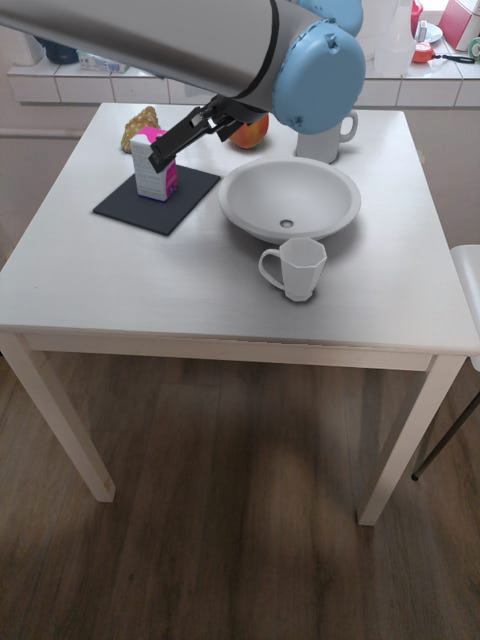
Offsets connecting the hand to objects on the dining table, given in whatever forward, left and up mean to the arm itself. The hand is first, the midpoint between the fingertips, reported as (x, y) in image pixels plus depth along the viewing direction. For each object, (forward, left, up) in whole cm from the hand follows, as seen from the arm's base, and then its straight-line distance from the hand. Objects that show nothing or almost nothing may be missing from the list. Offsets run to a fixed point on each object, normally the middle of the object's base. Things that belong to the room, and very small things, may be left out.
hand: (188, 149), depth 78 cm
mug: (+14, +31, -14) cm, 37 cm away
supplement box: (-10, +4, -13) cm, 17 cm away
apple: (-3, +28, -14) cm, 31 cm away
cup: (+22, -9, -14) cm, 28 cm away
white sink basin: (+16, +6, -14) cm, 22 cm away
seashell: (-24, +19, -14) cm, 34 cm away
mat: (-10, +4, -14) cm, 17 cm away
